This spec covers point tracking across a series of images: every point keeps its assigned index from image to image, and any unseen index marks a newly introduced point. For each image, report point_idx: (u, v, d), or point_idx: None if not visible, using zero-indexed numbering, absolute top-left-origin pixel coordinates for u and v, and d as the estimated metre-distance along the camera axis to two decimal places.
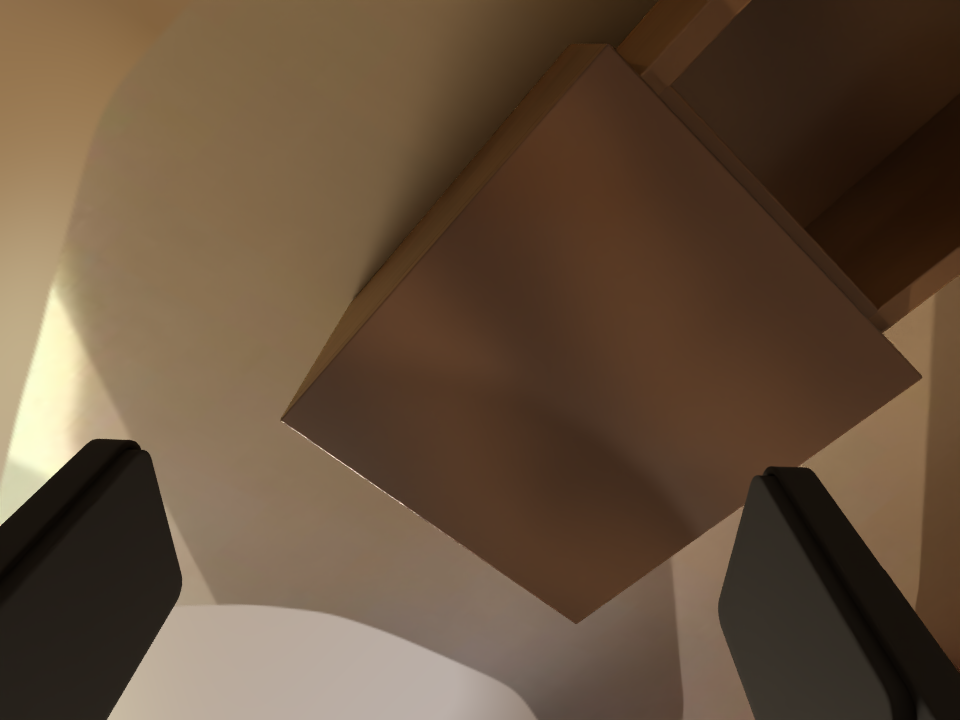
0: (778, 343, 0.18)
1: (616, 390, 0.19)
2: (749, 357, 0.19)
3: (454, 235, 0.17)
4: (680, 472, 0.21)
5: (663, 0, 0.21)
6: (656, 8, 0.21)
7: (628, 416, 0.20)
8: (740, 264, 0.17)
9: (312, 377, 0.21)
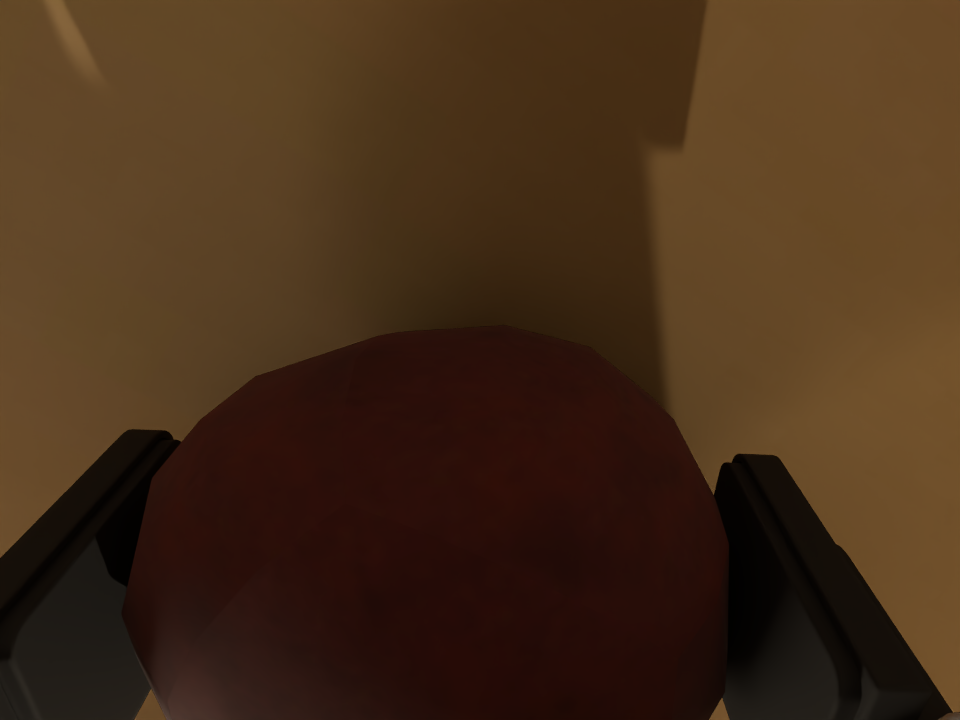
0: None
1: None
2: None
3: None
4: None
5: None
6: None
7: None
8: None
9: None
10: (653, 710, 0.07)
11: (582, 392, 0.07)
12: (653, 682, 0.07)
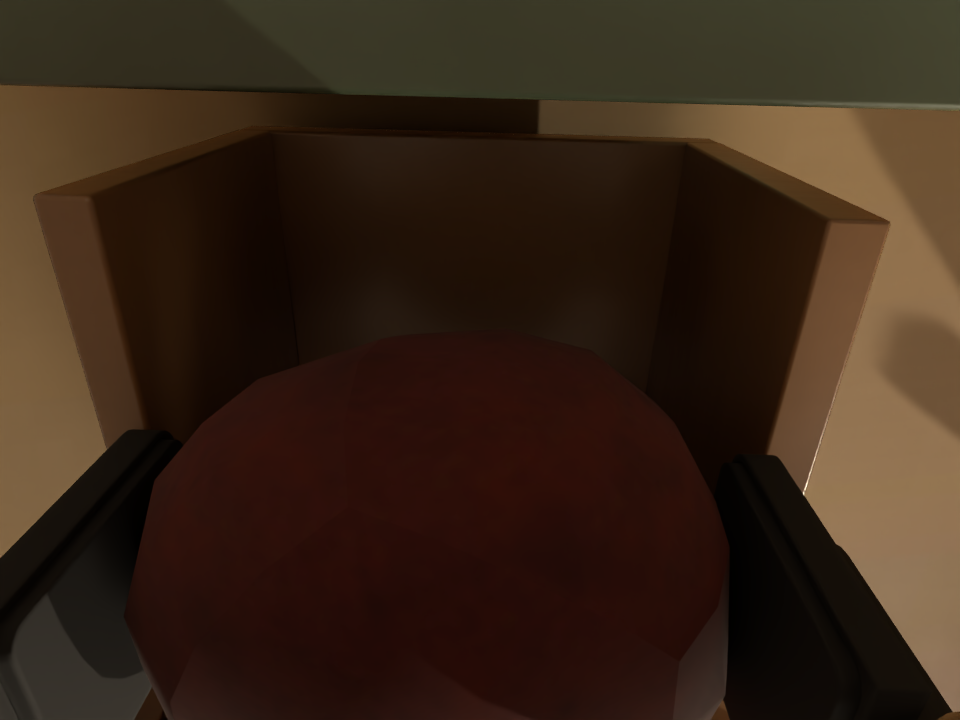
0: None
1: None
2: None
3: None
4: None
5: None
6: None
7: None
8: None
9: None
10: (654, 714, 0.07)
11: (584, 396, 0.07)
12: (655, 684, 0.07)
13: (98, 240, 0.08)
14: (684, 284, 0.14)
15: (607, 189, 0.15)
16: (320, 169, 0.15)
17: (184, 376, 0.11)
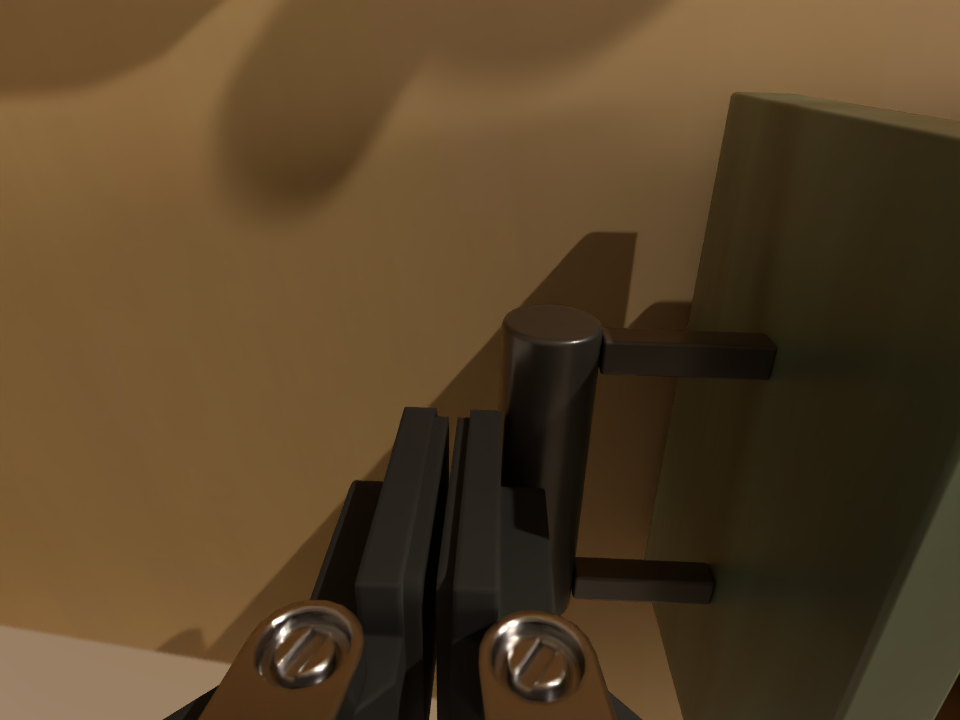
0: None
1: None
2: None
3: None
4: None
5: None
6: None
7: None
8: None
9: None
10: None
11: None
12: None
13: None
14: None
15: None
16: None
17: None
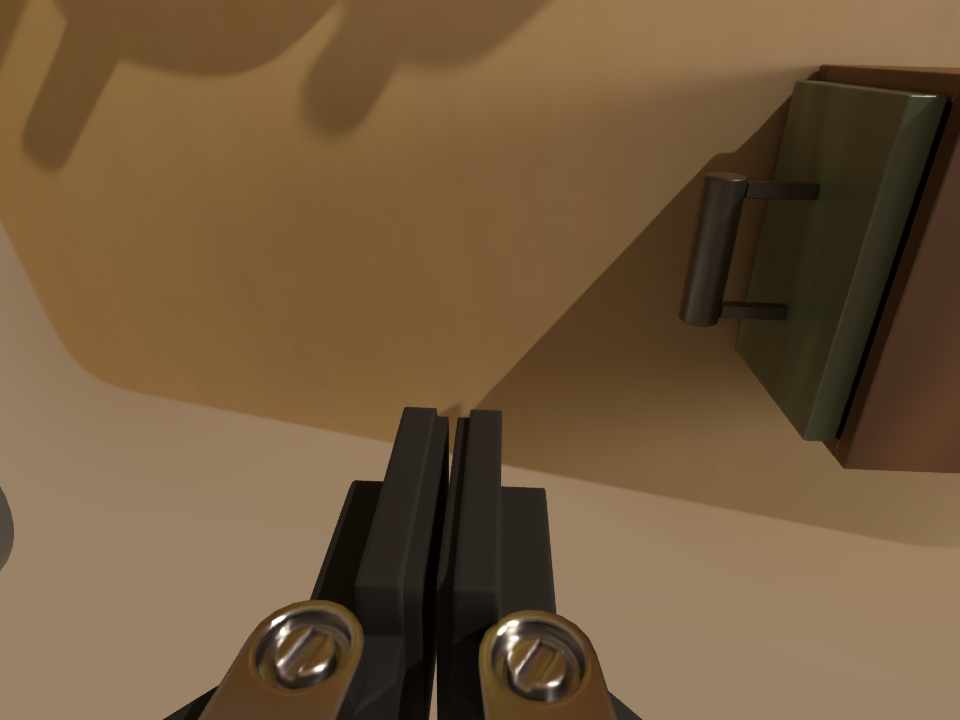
0: None
1: None
2: None
3: None
4: None
5: None
6: None
7: None
8: (944, 304, 0.21)
9: None
10: None
11: None
12: None
13: None
14: None
15: None
16: None
17: None
